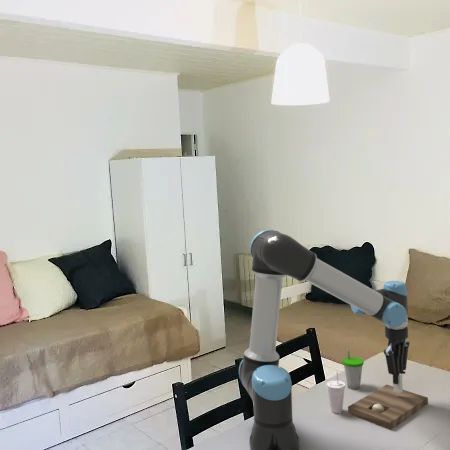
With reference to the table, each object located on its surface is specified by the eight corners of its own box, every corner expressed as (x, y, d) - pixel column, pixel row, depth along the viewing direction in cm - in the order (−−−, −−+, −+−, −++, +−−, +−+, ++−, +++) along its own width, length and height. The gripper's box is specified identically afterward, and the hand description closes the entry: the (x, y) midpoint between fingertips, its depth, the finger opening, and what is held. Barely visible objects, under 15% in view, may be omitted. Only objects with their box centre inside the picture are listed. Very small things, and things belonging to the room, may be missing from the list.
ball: (378, 414, 170) (383, 403, 171) (368, 410, 173) (372, 400, 174) (383, 420, 172) (388, 409, 173) (372, 416, 175) (377, 405, 176)
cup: (365, 391, 192) (364, 352, 190) (343, 391, 193) (342, 352, 192) (363, 382, 200) (362, 345, 198) (342, 382, 201) (341, 345, 199)
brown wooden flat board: (390, 429, 164) (390, 422, 163) (348, 413, 176) (347, 406, 175) (427, 404, 179) (427, 397, 179) (386, 391, 191) (386, 384, 191)
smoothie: (346, 415, 174) (345, 375, 173) (327, 414, 176) (325, 375, 174) (345, 407, 181) (344, 368, 179) (327, 406, 182) (325, 367, 180)
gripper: (395, 333, 171) (397, 401, 174) (416, 323, 179) (417, 388, 182) (376, 328, 177) (377, 394, 179) (396, 319, 185) (398, 382, 188)
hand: (397, 391), depth 181 cm, fingers closed
